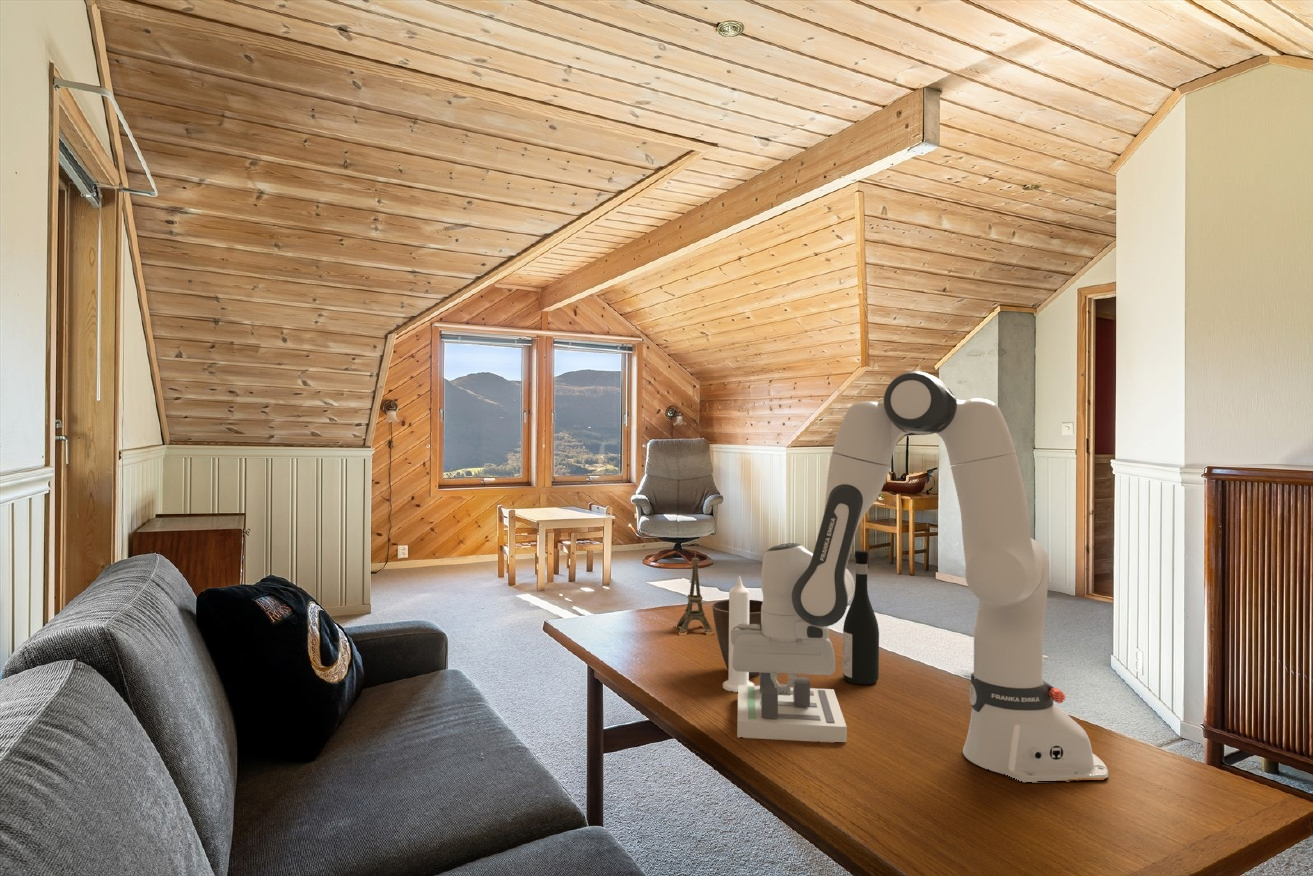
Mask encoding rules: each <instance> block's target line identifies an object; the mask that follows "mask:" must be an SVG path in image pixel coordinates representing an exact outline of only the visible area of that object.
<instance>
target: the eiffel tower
mask: <svg viewBox="0 0 1313 876" xmlns="http://www.w3.org/2000/svg"><path fill="white" fill-rule="evenodd" d="M696 544H697V543H696ZM696 544H694V546H695V548H694V557H692V558H691V563H692V573H691V581H690V588H689V594H687V599H688V600H687V601H688V602H687V606H686V608H685V609H684V611H685V612H684V613H683V614H682V616H681V617H680V619H679V620H678V622H677V624H676V625H677V627H681V628H679V630H678V632H680V633H685V632H688V629H689V625H690V624H691V622H692V621H699V622H700V623H701V624H703V626H704V628H703V629H704V633H705V632H714V631H713V627H712V625H711V624H710V623H709V621H708V619H707V617H706V616H705V615H706V612H705V611H704V609H703V603H702V601H703V596H702V594H701V589H700V588H701V587H700V579H699V567H698V566H699V563H700V561H699V558H698V557H697V549H696V548H697V545H696ZM695 590H696V592H695ZM695 593H696V594H695ZM693 604H697V608H698V609H693ZM710 625H711V626H710ZM711 627H712V628H711Z"/></svg>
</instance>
